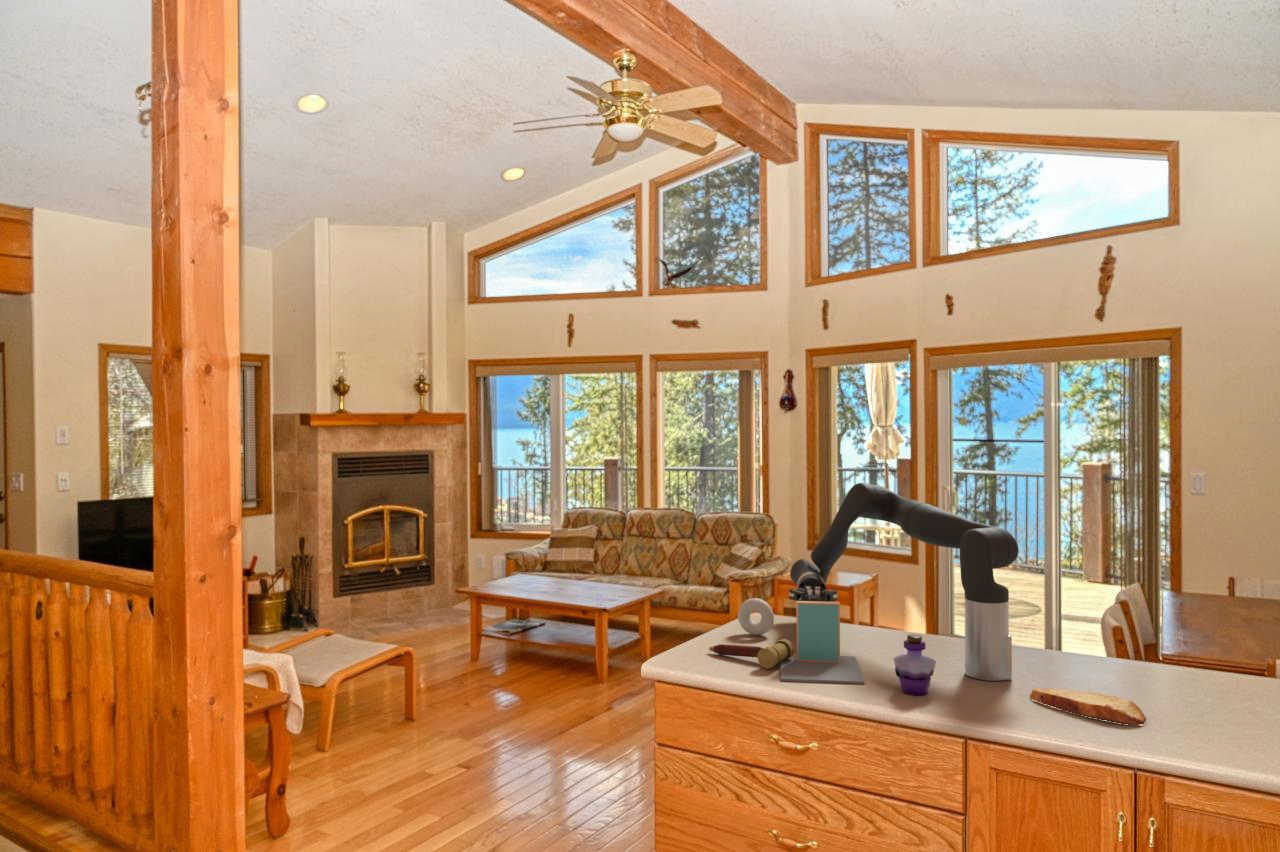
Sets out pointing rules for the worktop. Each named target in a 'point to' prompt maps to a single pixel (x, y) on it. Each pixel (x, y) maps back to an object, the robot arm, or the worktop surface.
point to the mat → (821, 671)
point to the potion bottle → (914, 667)
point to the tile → (818, 631)
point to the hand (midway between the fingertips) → (814, 602)
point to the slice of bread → (1091, 705)
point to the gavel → (759, 652)
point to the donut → (762, 608)
